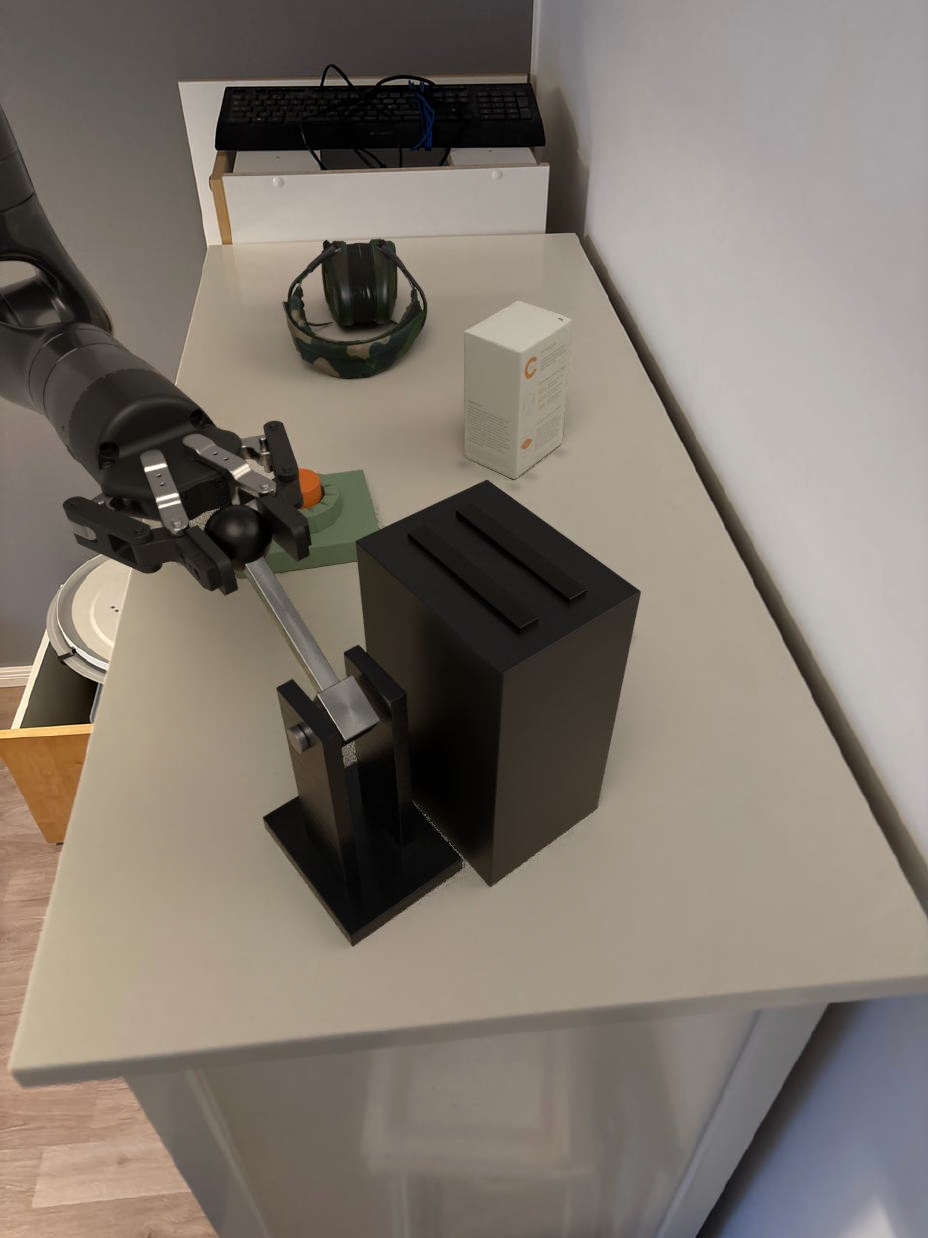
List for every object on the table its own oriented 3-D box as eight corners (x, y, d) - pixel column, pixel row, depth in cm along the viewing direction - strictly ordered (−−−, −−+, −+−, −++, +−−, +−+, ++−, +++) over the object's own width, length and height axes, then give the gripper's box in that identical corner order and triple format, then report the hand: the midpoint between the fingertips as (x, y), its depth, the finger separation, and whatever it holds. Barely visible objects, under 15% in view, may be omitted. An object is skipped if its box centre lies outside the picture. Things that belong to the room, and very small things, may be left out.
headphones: (268, 258, 104) (272, 365, 92) (343, 175, 98) (357, 278, 86) (353, 323, 113) (367, 428, 101) (427, 251, 107) (451, 353, 95)
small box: (511, 422, 90) (517, 297, 81) (563, 444, 87) (576, 318, 78) (461, 457, 85) (462, 329, 76) (514, 481, 83) (521, 352, 74)
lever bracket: (264, 827, 56) (222, 668, 46) (370, 763, 60) (353, 602, 49) (352, 947, 50) (326, 797, 40) (463, 869, 54) (465, 712, 44)
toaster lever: (188, 538, 48) (191, 507, 45) (247, 513, 50) (254, 482, 47) (322, 761, 46) (335, 745, 43) (379, 727, 48) (395, 710, 45)
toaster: (376, 759, 60) (354, 535, 46) (479, 696, 64) (487, 473, 50) (490, 887, 53) (503, 669, 40) (597, 808, 57) (643, 585, 44)
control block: (238, 578, 73) (229, 540, 70) (232, 506, 80) (224, 469, 77) (383, 557, 75) (380, 520, 72) (364, 488, 82) (361, 452, 79)
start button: (280, 513, 73) (277, 496, 72) (276, 487, 76) (274, 470, 74) (324, 507, 74) (322, 490, 72) (319, 482, 76) (317, 465, 75)
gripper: (-11, 409, 49) (113, 563, 39) (219, 334, 56) (375, 450, 46) (35, 517, 54) (155, 677, 45) (241, 437, 61) (386, 562, 51)
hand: (266, 561), depth 45 cm, fingers closed on toaster lever, 3 cm apart
